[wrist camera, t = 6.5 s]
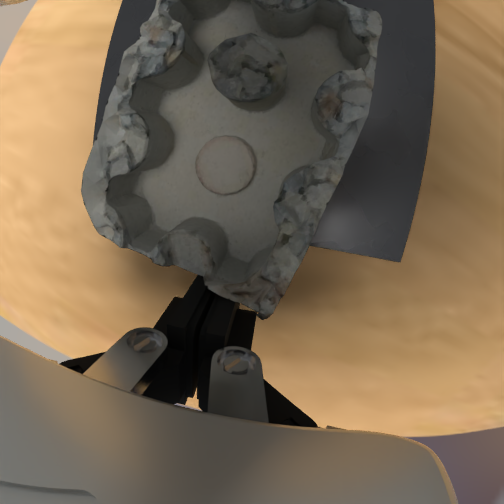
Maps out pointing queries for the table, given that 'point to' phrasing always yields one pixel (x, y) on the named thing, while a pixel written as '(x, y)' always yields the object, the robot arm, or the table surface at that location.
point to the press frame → (371, 136)
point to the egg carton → (232, 137)
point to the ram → (10, 2)
